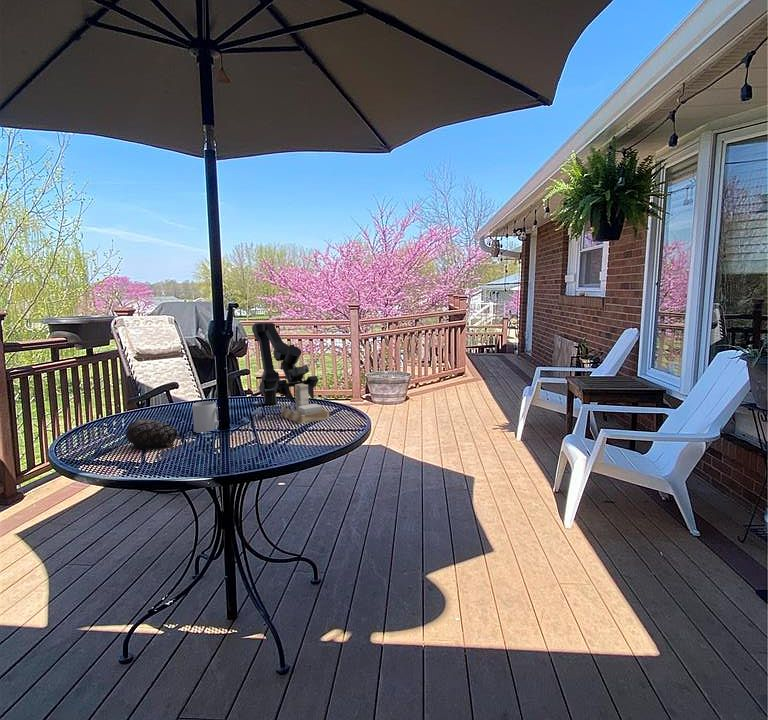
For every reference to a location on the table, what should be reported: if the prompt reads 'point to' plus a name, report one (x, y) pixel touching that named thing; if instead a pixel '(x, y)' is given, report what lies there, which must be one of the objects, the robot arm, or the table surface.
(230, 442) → the table surface
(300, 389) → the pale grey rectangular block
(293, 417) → the tray
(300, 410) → the offcut top
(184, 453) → the table surface
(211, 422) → the mug
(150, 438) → the pine cone
